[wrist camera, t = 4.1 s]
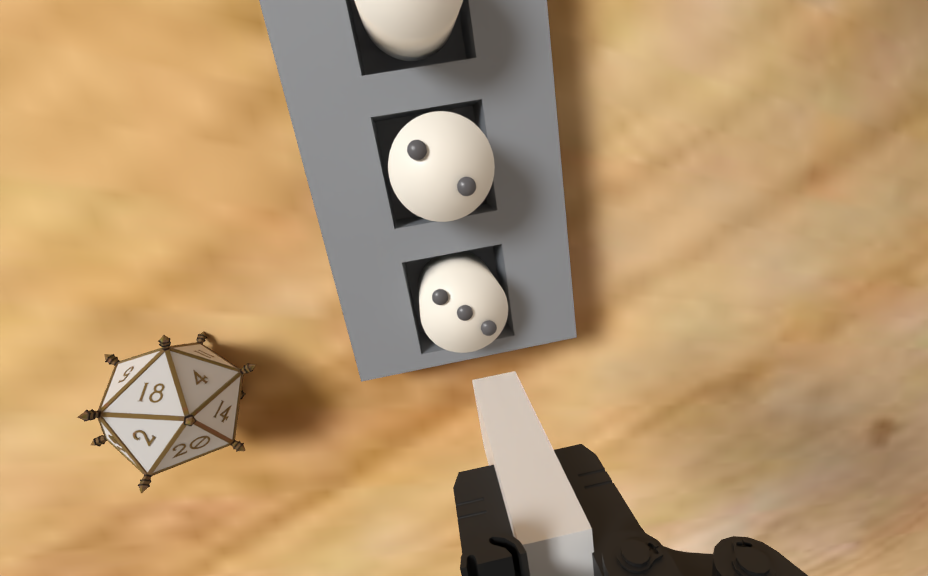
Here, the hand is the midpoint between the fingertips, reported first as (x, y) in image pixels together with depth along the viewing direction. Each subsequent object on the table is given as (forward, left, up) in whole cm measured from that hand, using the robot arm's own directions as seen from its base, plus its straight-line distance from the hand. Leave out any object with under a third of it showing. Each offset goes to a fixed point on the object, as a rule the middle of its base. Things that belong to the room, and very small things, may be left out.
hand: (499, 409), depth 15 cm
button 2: (-8, 0, -13) cm, 15 cm away
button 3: (0, 0, -15) cm, 15 cm away
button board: (-8, 0, -16) cm, 18 cm away
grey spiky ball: (+3, -18, -16) cm, 24 cm away
